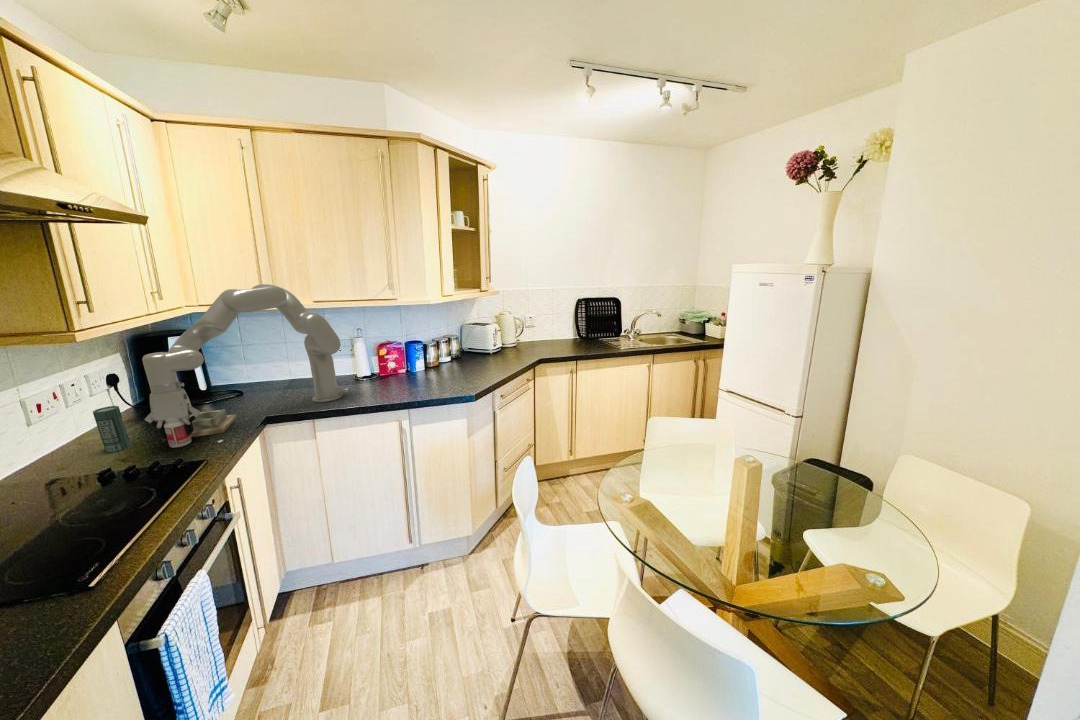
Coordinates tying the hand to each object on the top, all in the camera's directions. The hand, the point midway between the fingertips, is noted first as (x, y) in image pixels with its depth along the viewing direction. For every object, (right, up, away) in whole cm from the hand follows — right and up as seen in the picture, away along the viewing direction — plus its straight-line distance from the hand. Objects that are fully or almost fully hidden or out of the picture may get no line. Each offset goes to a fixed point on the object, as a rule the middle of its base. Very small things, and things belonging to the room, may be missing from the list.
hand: (178, 434), depth 146 cm
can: (-20, -5, -1) cm, 21 cm away
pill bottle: (0, -4, +1) cm, 4 cm away
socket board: (-2, 0, +15) cm, 15 cm away
